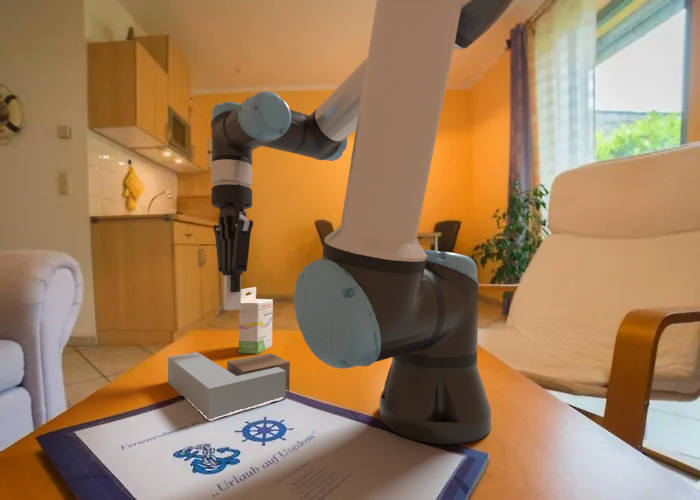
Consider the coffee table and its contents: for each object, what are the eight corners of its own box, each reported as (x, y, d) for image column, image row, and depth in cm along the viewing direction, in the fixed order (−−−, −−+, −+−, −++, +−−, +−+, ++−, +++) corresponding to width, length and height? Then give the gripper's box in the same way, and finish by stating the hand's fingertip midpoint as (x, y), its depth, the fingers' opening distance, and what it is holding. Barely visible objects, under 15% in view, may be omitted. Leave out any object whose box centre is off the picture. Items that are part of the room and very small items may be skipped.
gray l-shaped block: (285, 399, 57) (285, 370, 57) (208, 421, 49) (209, 388, 49) (233, 368, 72) (233, 346, 72) (167, 382, 64) (168, 356, 64)
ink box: (257, 354, 83) (258, 289, 83) (237, 353, 84) (238, 289, 84) (273, 345, 91) (273, 286, 91) (254, 344, 92) (255, 286, 92)
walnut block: (289, 392, 61) (289, 362, 61) (243, 404, 56) (244, 371, 56) (270, 380, 66) (270, 353, 66) (226, 390, 61) (227, 361, 61)
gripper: (266, 183, 68) (266, 310, 67) (236, 194, 78) (236, 305, 77) (226, 177, 63) (227, 314, 62) (200, 189, 73) (200, 308, 72)
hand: (232, 309), depth 69 cm, fingers closed
